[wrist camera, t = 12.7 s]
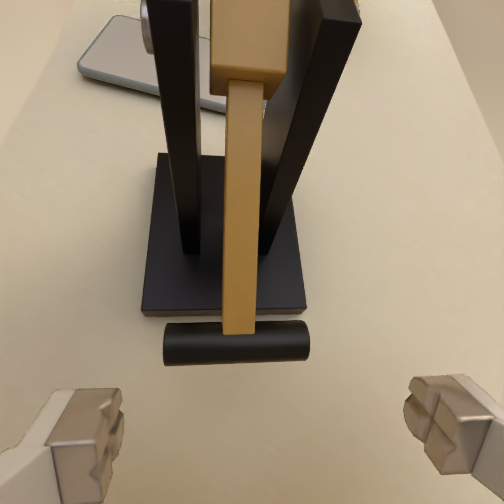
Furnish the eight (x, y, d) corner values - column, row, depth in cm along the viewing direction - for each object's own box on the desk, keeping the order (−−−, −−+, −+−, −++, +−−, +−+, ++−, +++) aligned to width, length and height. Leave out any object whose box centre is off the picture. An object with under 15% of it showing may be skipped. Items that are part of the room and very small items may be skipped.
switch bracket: (301, 314, 18) (493, 128, 6) (144, 317, 17) (-10, 88, 5) (283, 170, 23) (369, -92, 11) (160, 164, 22) (103, -142, 10)
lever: (294, 343, 13) (314, 375, 10) (169, 347, 12) (160, 383, 10) (313, 19, 11) (342, -31, 8) (167, 1, 10) (154, -60, 8)
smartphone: (261, 116, 24) (71, 66, 24) (259, 126, 25) (76, 78, 24) (277, 56, 28) (114, 11, 27) (275, 66, 29) (117, 23, 28)
